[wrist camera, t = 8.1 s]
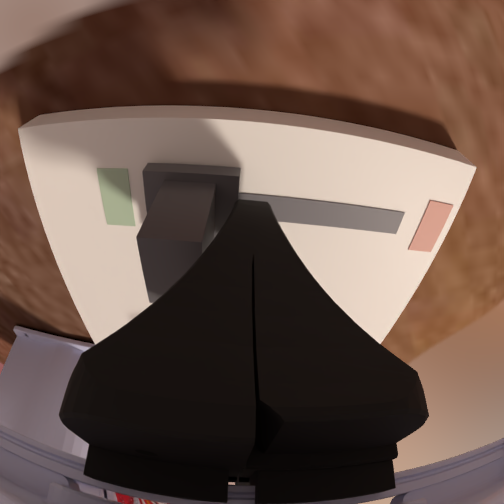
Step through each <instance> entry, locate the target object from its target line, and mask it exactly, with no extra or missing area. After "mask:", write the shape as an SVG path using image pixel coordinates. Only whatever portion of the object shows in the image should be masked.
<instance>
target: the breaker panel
mask: <svg viewBox="0 0 504 504" xmlns="http://www.w3.org/2000/svg"><path fill="white" fill-rule="evenodd" d="M18 132H19V137H20V142H21V147H22V151H23V156H24V160H25V164H26V169H27V173H28V176H29V180H30V184H31V188H32V191H33V195H34V198H35V201H36V205H37V208H38V211H39V214H40V217H41V220H42V223H43V226H44V229H45V232H46V235H47V238H48V241H49V243H50V246H51V249H52V251H53V254H54V257H55V259H56V262H57V264H58V267H59V269H60V271H61V274H62V276H63V279H64V281H65V283H66V286H67V288H68V290H69V292H70V295H71V297H72V299H73V301H74V303H75V305H76V307H77V310H78V312H79V314H80V316H81V318H82V320H83V322H84V324H85V326H86V328H87V330H88V332H89V334H90V335H91V337H92V339H93V341H94V343H95V345H96V344H97V343H99V342H100V341H102V340H103V339H105V338H106V337H108V336H109V335H111V334H112V333H114V332H116V331H117V330H119V329H120V328H121V327H123V326H124V325H126V324H127V323H128V322H129V321H131V320H132V319H133V318H135V317H136V316H137V315H138V314H140V313H141V312H142V311H144V310H145V309H146V308H147V307H149V306H150V305H151V304H153V303H149V298H148V294H147V290H146V285H145V280H144V276H143V271H142V266H141V261H140V255H139V250H138V245H137V239H136V236H137V234H138V232H139V230H140V228H141V226H142V224H143V222H144V220H145V218H146V215H147V211H146V203H145V194H144V184H143V174H142V171H143V169H144V168H145V166H146V165H147V163H171V164H193V165H211V166H226V167H239V168H241V171H240V184H239V196H238V200H239V199H242V200H254V201H265V202H268V203H269V204H270V205H271V208H272V210H273V213H274V215H275V217H276V219H277V221H278V223H279V225H280V226H281V228H282V230H283V232H284V234H285V235H286V237H287V239H288V240H289V242H290V244H291V245H292V247H293V249H294V250H295V252H296V253H297V255H298V256H299V258H300V259H301V260H302V262H303V263H304V265H305V266H306V268H307V269H308V270H309V272H310V273H311V274H312V276H313V277H314V278H315V280H316V281H317V282H318V283H319V284H320V286H321V287H322V288H323V289H324V290H325V292H326V293H327V294H328V295H329V296H330V297H331V298H332V299H333V301H334V302H335V303H336V304H337V305H338V306H339V307H340V308H341V309H342V310H343V311H344V312H345V313H346V314H347V315H348V316H349V317H350V318H351V319H352V320H353V321H354V322H355V323H357V324H358V325H359V326H360V327H361V328H362V329H363V330H364V331H365V332H367V333H368V334H369V335H370V336H371V337H372V338H374V339H375V340H376V341H377V342H378V343H379V344H381V342H382V341H383V340H384V338H385V337H386V335H387V334H388V332H389V331H390V329H391V328H392V326H393V325H394V323H395V322H396V320H397V319H398V317H399V316H400V314H401V313H402V311H403V310H404V308H405V307H406V305H407V303H408V302H409V300H410V299H411V297H412V295H413V294H414V292H415V290H416V289H417V287H418V285H419V284H420V282H421V280H422V279H423V277H424V275H425V273H426V272H427V270H428V268H429V266H430V265H431V263H432V261H433V259H434V257H435V255H436V254H437V252H438V250H439V248H440V246H441V244H442V242H443V240H444V238H445V236H446V234H447V232H448V230H449V228H450V226H451V224H452V222H453V220H454V218H455V216H456V214H457V212H458V210H459V208H460V205H461V203H462V201H463V199H464V196H465V194H466V192H467V190H468V187H469V185H470V182H471V180H472V178H473V175H474V173H475V170H476V168H477V167H476V166H475V165H474V164H472V163H471V162H470V161H469V160H468V159H467V158H466V157H465V156H464V155H462V154H461V153H460V152H459V151H458V150H455V149H452V148H448V147H445V146H442V145H439V144H435V143H432V142H428V141H425V140H421V139H418V138H414V137H410V136H406V135H403V134H399V133H395V132H390V131H386V130H382V129H377V128H373V127H368V126H364V125H359V124H354V123H349V122H343V121H338V120H332V119H326V118H320V117H314V116H307V115H300V114H292V113H284V112H276V111H266V110H256V109H244V108H231V107H213V106H177V105H161V106H125V107H108V108H95V109H84V110H74V111H65V112H57V113H50V114H43V115H39V116H37V117H35V118H34V119H32V120H30V121H29V122H27V123H26V124H24V125H23V126H21V127H20V128H18Z"/></svg>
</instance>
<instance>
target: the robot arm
mask: <svg viewBox="0 0 504 504" xmlns="http://www.w3.org/2000/svg"><path fill="white" fill-rule="evenodd" d="M13 330H14V332H15V334H16V335H17V337H16V339H15V341H14V344H13V346H12V348H11V350H10V353H9V355H8V357H7V360H6V362H5V364H4V367H3V369H2V372H1V374H0V504H125V503H121V502H117V497H116V494H115V493H119V494H123V495H127V496H131V497H136V498H140V499H145V500H150V501H155V502H161V503H166V504H358V503H363V502H369V501H374V500H379V499H384V498H388V497H393V496H395V497H394V498H393V499H392V501H391V503H390V504H504V438H502V439H500V440H498V441H495V442H493V443H491V444H488V445H485V446H483V447H480V448H478V449H475V450H473V451H470V452H467V453H464V454H461V455H458V456H455V457H452V458H449V459H446V460H442V461H439V462H436V463H433V464H429V465H425V466H421V467H417V468H414V469H409V470H405V471H400V472H396V473H394V468H393V461H392V459H395V458H397V456H398V451H397V444H396V443H397V442H398V441H400V440H402V439H403V438H405V437H406V436H408V435H410V434H411V433H413V432H414V431H416V430H417V429H419V428H420V427H421V426H422V425H423V424H424V423H425V421H426V420H427V418H428V417H429V413H428V409H427V404H426V399H425V395H424V391H423V388H422V384H421V381H420V379H419V376H418V373H417V372H416V371H415V370H414V369H413V368H411V367H410V366H409V365H407V364H406V363H404V362H403V361H402V360H400V359H399V358H398V357H396V356H395V355H394V354H392V353H391V352H390V351H388V350H387V349H386V348H384V347H383V346H382V345H381V344H379V343H378V342H377V341H376V340H375V339H374V338H372V337H371V336H370V335H369V334H368V333H367V332H365V331H364V330H363V329H362V328H361V327H360V326H359V325H358V324H357V323H355V322H354V321H353V320H352V319H351V318H350V317H349V316H348V315H347V314H346V313H345V312H344V311H343V310H342V309H341V308H340V307H339V306H338V305H337V304H336V303H335V302H334V301H333V299H332V298H331V297H330V296H329V295H328V294H327V293H326V292H325V290H324V289H323V288H322V287H321V286H320V284H319V283H318V282H317V281H316V280H315V278H314V277H313V276H312V274H311V273H310V272H309V270H308V269H307V268H306V266H305V265H304V263H303V262H302V260H301V259H300V258H299V256H298V255H297V253H296V252H295V250H294V249H293V247H292V245H291V244H290V242H289V240H288V239H287V237H286V235H285V234H284V232H283V230H282V228H281V226H280V225H279V223H278V221H277V219H276V217H275V215H274V213H273V210H272V208H271V205H270V204H269V203H268V202H265V201H254V200H242V199H239V200H237V201H236V202H235V204H234V207H233V209H232V211H231V213H230V215H229V217H228V218H227V220H226V222H225V223H224V225H223V226H222V228H221V229H220V231H219V232H218V234H217V235H216V237H215V238H214V239H213V241H212V242H211V243H210V245H209V246H208V247H207V248H206V250H205V251H204V252H203V253H202V255H201V256H200V257H199V258H198V259H197V261H196V262H195V263H194V264H193V265H192V266H191V267H190V268H189V270H188V271H187V272H186V273H185V274H184V275H183V276H182V277H181V278H180V279H179V280H178V281H177V282H176V283H175V284H174V285H173V286H171V287H170V288H169V289H168V290H167V291H166V292H165V293H164V294H163V295H162V296H161V297H159V298H158V299H157V300H156V301H155V302H154V303H153V304H151V305H150V306H149V307H147V308H146V309H145V310H144V311H142V312H141V313H140V314H138V315H137V316H136V317H135V318H133V319H132V320H131V321H129V322H128V323H127V324H126V325H124V326H123V327H121V328H120V329H119V330H117V331H116V332H114V333H112V334H111V335H109V336H108V337H106V338H105V339H103V340H102V341H100V342H99V343H97V344H96V345H95V344H92V343H87V342H82V341H77V340H72V339H68V338H64V337H59V336H55V335H51V334H47V333H43V332H39V331H35V330H31V329H27V328H24V327H20V326H15V327H14V329H13ZM228 482H235V485H228Z"/></svg>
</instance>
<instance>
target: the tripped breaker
mask: <svg viewBox="0 0 504 504" xmlns="http://www.w3.org/2000/svg"><path fill="white" fill-rule="evenodd" d="M240 171H241V168H239V167H226V166H211V165H193V164H171V163H147V165H146V166H145V168H144V169H143V171H142V174H143V184H144V194H145V203H146V211H147V215H146V218H145V220H144V222H143V224H142V226H141V228H140V230H139V232H138V234H137V236H136V239H137V245H138V250H139V255H140V261H141V266H142V271H143V276H144V280H145V285H146V290H147V294H148V298H149V303H154V302H155V301H156V300H157V299H158V298H159V297H161V296H162V295H163V294H164V293H165V292H166V291H167V290H168V289H169V288H170V287H171V286H173V285H174V284H175V283H176V282H177V281H178V280H179V279H180V278H181V277H182V276H183V275H184V274H185V273H186V272H187V271H188V270H189V268H190V267H191V266H192V265H193V264H194V263H195V262H196V261H197V259H198V258H199V257H200V256H201V255H202V253H203V252H204V251H205V250H206V248H207V247H208V246H209V245H210V243H211V242H212V241H213V239H214V238H215V237H216V235H217V234H218V232H219V231H220V229H221V228H222V226H223V225H224V223H225V222H226V220H227V218H228V217H229V215H230V213H231V211H232V209H233V207H234V204H235V202H236V201H237V200H238V196H239V184H240Z"/></svg>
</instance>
